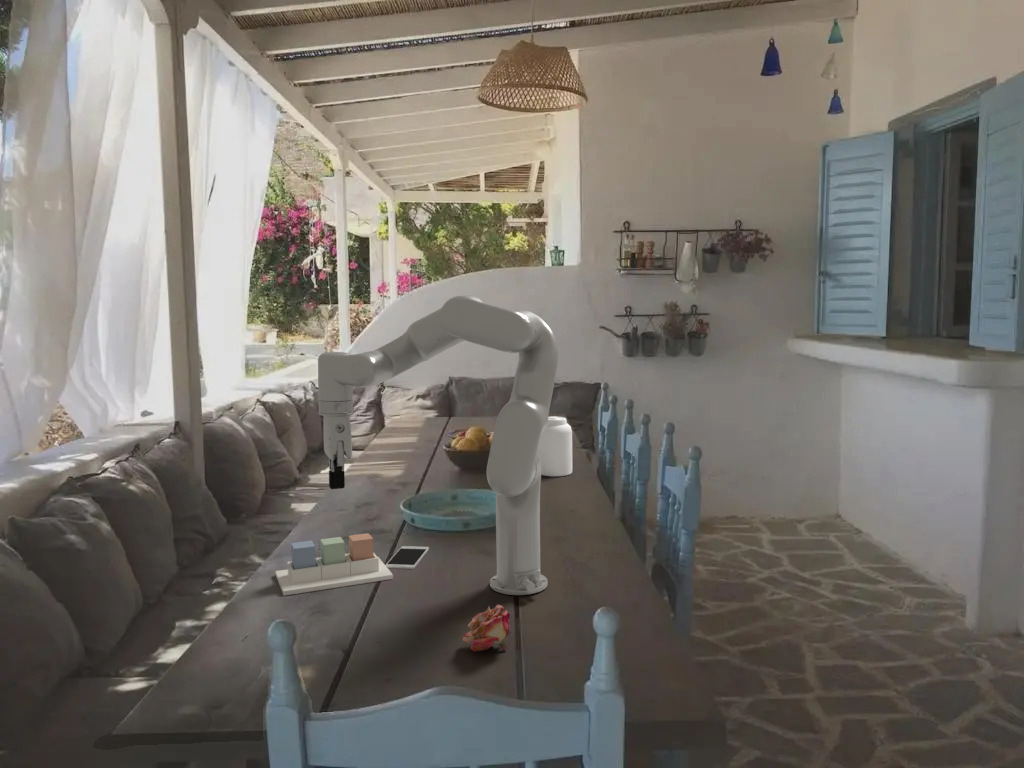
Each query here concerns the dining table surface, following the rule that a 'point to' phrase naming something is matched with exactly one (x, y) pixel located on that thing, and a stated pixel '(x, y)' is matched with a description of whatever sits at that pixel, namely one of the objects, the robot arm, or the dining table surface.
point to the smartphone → (407, 557)
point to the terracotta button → (361, 547)
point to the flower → (488, 629)
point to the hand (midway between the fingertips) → (336, 487)
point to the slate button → (303, 554)
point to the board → (332, 575)
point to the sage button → (332, 550)
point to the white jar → (556, 448)
